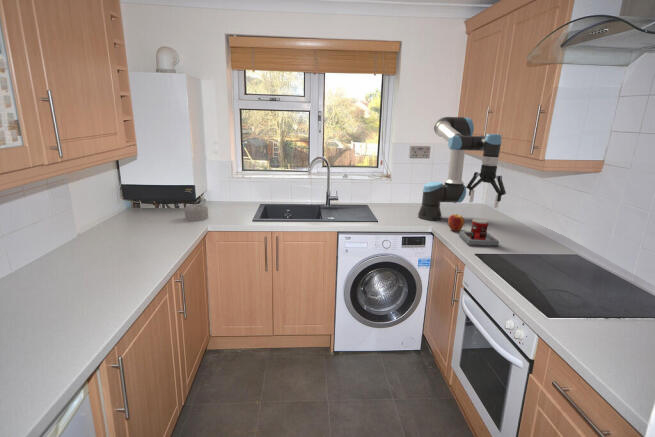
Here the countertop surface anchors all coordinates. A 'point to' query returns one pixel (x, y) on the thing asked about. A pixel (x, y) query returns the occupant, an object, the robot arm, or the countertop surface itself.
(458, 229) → the apple
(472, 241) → the tray
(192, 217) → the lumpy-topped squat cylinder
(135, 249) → the countertop surface
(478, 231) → the canned food
